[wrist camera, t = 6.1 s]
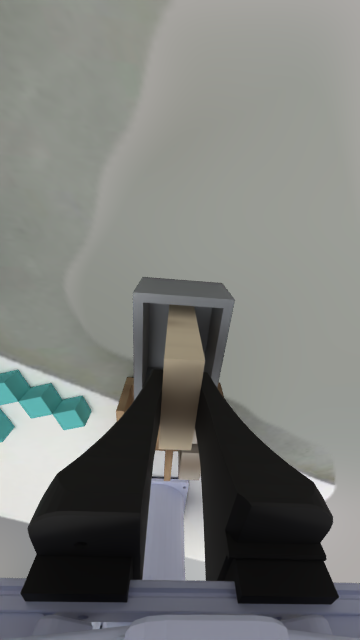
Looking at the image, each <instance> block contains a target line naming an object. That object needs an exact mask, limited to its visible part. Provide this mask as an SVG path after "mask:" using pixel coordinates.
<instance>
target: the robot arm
mask: <svg viewBox="0 0 360 640" xmlns="http://www.w3.org/2000/svg"><path fill="white" fill-rule="evenodd" d="M162 385H163V370H162V369H153V370H152V371H151V373H150V375H149V378H148V379H147V381H146V383H145V385H144V386H143V388H142V390H141V391H140V393H139V394H138V396H137V397H136V399H135V400H134V401H133V403H132V404H131V405H130V407H129V408H128V409H127V411H126V412H125V413H124V414H123V415H122V417H121V418H120V419H119V420H118V421H117V422H116V423H115V424H114V425H113V426H112V427H111V428H110V430H109V431H108V432H107V433H106V434H105V435H104V436H102V437H101V438H100V439H99V440H98V441H97V442H96V443H95V444H94V445H92V446H91V447H90V448H89V449H88V450H87V451H86V452H85V453H83V454H82V455H81V456H80V457H78V458H77V459H76V460H75V461H73V462H72V463H71V464H69V465H68V466H67V467H65V468H64V469H63V470H62V471H60V472H59V473H58V474H57V475H56V476H55V478H54V479H53V481H52V482H51V484H50V486H49V487H48V489H47V491H46V492H45V494H44V495H43V497H42V499H41V501H40V503H39V505H38V507H37V509H36V511H35V513H34V515H33V518H32V520H31V522H30V524H29V526H28V533H29V537H30V539H31V542H32V544H33V546H34V549H35V551H36V553H37V555H36V557H35V560H34V562H33V564H32V567H31V569H30V571H29V574H28V576H27V578H0V640H360V583H333V582H332V579H331V577H330V575H329V572H328V570H327V568H326V565H325V563H324V561H325V560H326V555H325V552H324V550H323V548H322V546H321V543H320V542H321V541H322V540H323V538H324V537H325V536H326V534H327V533H328V532H329V530H330V528H331V526H332V524H333V516H332V514H331V512H330V510H329V508H328V507H327V505H326V503H325V501H324V499H323V497H322V495H321V494H320V492H319V490H318V489H317V487H316V486H315V484H314V482H312V481H311V480H310V479H308V478H307V477H306V476H304V475H303V474H301V473H300V472H299V471H297V470H296V469H295V468H293V467H292V466H290V465H289V464H288V463H287V462H285V461H284V460H283V459H282V458H281V457H279V456H278V455H277V454H276V453H274V452H273V451H272V450H271V449H270V448H269V447H268V446H267V445H265V444H264V443H263V442H262V441H261V440H260V439H259V438H258V437H257V436H256V435H255V434H254V433H253V432H252V431H251V430H250V429H249V428H248V427H247V426H246V425H245V424H244V423H243V421H242V420H241V419H240V418H239V417H238V416H237V414H236V413H235V412H234V411H233V409H232V408H231V407H230V405H229V404H228V403H227V401H226V400H225V399H224V397H223V396H222V394H221V393H220V391H219V390H218V388H217V387H216V385H215V384H214V382H213V380H212V378H211V377H210V375H209V373H208V372H203V378H202V384H201V390H200V397H199V403H198V409H197V416H196V422H195V431H196V438H197V445H198V451H199V458H200V467H201V482H202V499H203V519H204V541H205V568H206V581H185V561H184V560H185V557H184V510H185V505H186V499H187V493H188V487H189V481H188V480H178V479H170V481H164V479H158V478H152V469H153V460H154V454H155V448H156V443H157V437H158V431H159V426H160V417H161V401H162Z"/></svg>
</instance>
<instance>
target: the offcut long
mask: <svg viewBox="0 0 360 640" xmlns="http://www.w3.org/2000/svg"><path fill="white" fill-rule="evenodd" d="M200 473H201V467H200V458H199V451H198V445H197V444H192V448H191V450H178V480H199V478H200Z"/></svg>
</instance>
